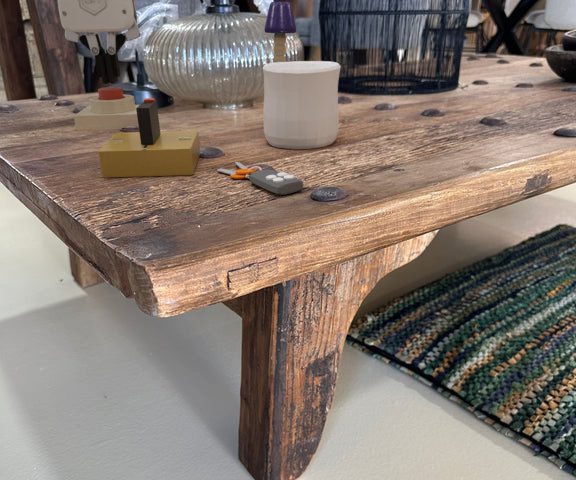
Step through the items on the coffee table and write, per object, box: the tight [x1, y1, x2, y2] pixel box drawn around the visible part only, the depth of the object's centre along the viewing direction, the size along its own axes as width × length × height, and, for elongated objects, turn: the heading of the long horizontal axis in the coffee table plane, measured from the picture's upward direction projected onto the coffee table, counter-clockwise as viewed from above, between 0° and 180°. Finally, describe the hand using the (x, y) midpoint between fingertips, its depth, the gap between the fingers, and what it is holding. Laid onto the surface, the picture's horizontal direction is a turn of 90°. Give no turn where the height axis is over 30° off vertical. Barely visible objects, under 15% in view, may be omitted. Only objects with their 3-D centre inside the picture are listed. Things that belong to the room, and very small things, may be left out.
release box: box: [73, 93, 140, 131], centre depth 88 cm, size 10×8×4 cm
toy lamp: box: [264, 1, 297, 63], centre depth 85 cm, size 5×5×17 cm
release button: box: [97, 86, 124, 100], centre depth 87 cm, size 4×4×2 cm
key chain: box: [216, 161, 304, 196], centre depth 61 cm, size 13×4×2 cm, turn 38°
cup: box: [262, 60, 342, 150], centre depth 75 cm, size 10×10×10 cm
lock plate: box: [97, 130, 201, 179], centre depth 67 cm, size 10×9×3 cm
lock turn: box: [136, 97, 161, 145], centre depth 65 cm, size 5×1×4 cm, turn 2°
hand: (110, 82), depth 86 cm, fingers closed
